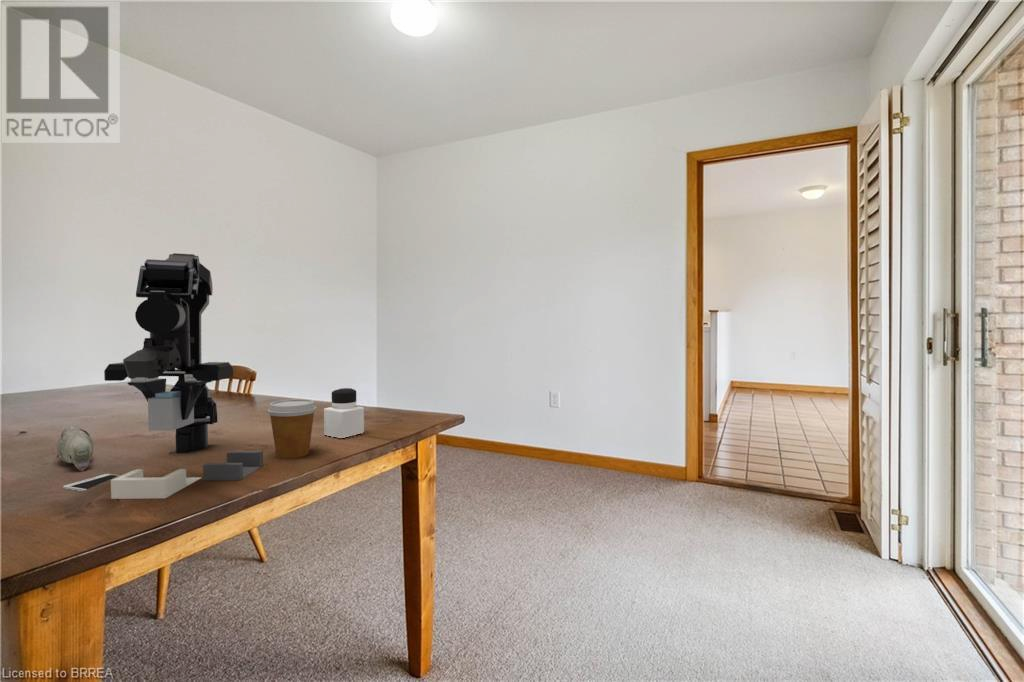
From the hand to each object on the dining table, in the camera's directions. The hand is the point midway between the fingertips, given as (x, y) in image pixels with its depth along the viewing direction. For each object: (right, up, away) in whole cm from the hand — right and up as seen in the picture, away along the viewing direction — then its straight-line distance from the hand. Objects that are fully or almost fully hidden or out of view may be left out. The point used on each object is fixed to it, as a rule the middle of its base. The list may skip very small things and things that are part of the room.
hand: (172, 419), depth 85 cm
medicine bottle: (+17, -11, +38) cm, 43 cm away
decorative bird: (-29, -11, +13) cm, 34 cm away
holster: (+8, -12, +6) cm, 15 cm away
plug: (0, -1, 0) cm, 1 cm away
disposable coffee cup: (+13, -12, +18) cm, 25 cm away
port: (0, -12, -2) cm, 12 cm away
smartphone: (-10, -13, 0) cm, 16 cm away
